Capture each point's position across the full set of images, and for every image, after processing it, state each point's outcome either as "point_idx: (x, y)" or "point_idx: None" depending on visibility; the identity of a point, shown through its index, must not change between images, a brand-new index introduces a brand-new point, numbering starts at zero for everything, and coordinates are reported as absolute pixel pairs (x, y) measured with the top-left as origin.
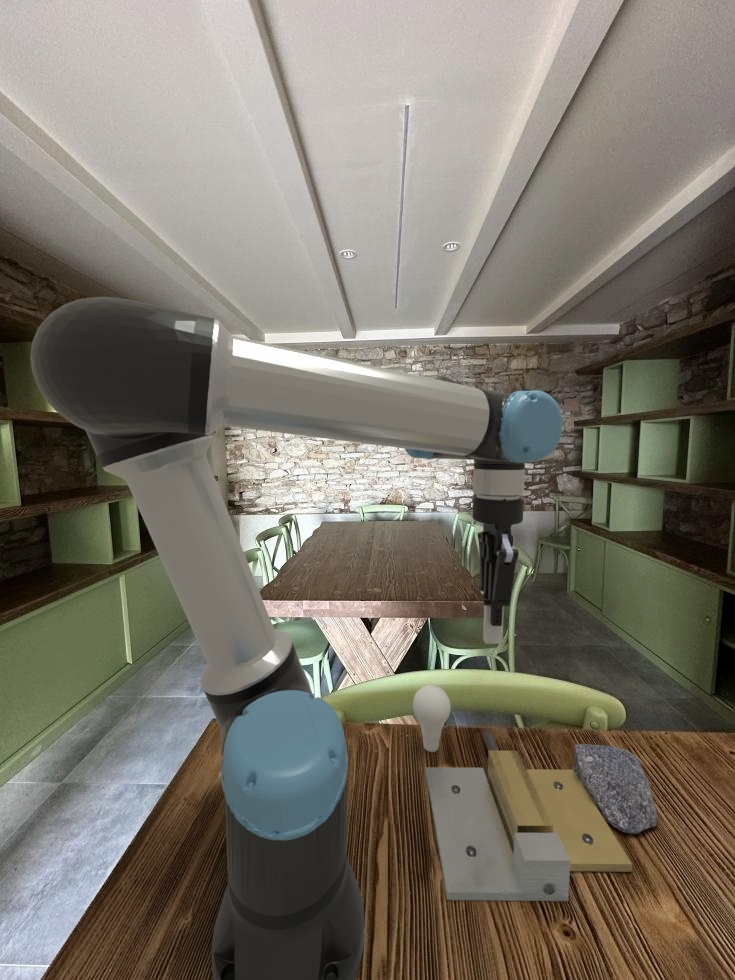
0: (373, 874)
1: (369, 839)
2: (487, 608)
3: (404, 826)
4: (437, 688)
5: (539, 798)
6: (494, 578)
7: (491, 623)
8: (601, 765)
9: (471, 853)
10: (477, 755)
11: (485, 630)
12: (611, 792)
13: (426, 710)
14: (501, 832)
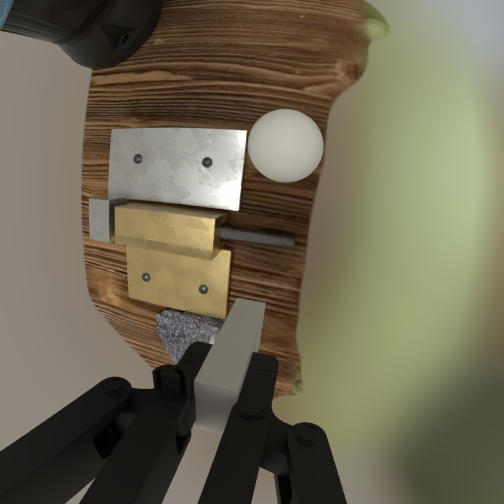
0: (141, 69)
1: (171, 62)
2: (200, 371)
3: (179, 96)
4: (283, 155)
5: (142, 247)
6: (39, 459)
7: (204, 345)
8: None
9: (135, 158)
10: (273, 215)
11: (233, 318)
12: (178, 331)
13: (253, 126)
14: (153, 196)
